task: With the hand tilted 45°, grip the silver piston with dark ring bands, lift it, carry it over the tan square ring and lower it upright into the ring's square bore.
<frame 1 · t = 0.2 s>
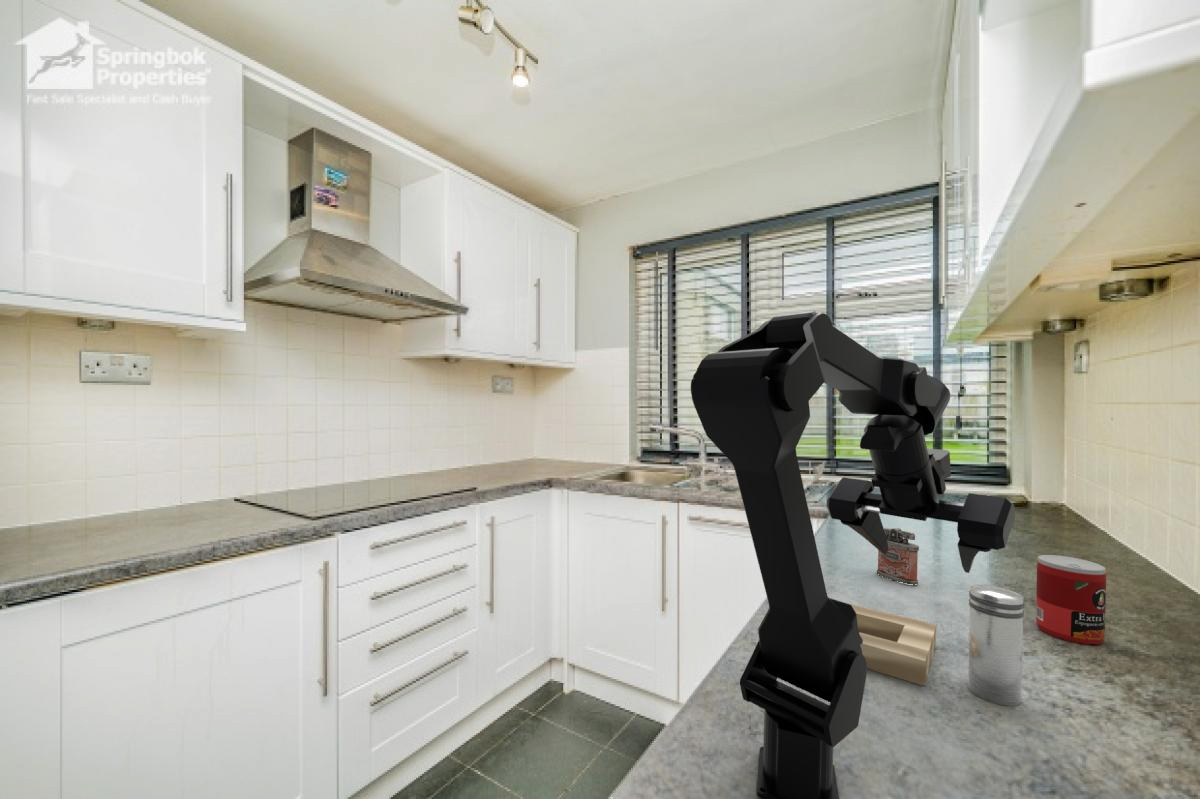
hand: (924, 560, 65), 15 cm above the counter, tool tilted 35°, fingers open, 9 cm apart
lighter: (896, 580, 103), on the counter
tan square ring: (871, 647, 72), on the counter
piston: (994, 693, 61), on the counter
canned food: (1069, 635, 79), on the counter
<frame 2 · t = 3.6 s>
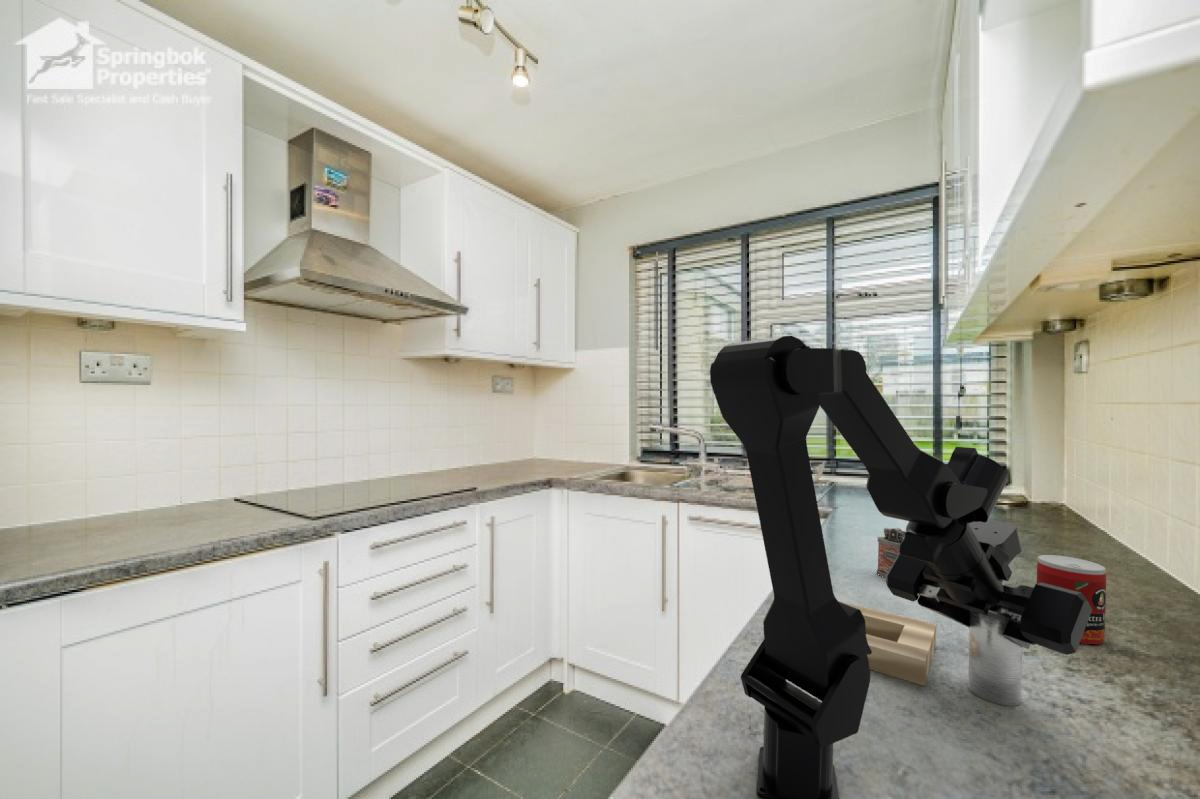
hand: (1001, 635, 62), 7 cm above the counter, tool tilted 45°, fingers closed on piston, 5 cm apart
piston: (994, 693, 61), on the counter, touching gripper
everything else where it was.
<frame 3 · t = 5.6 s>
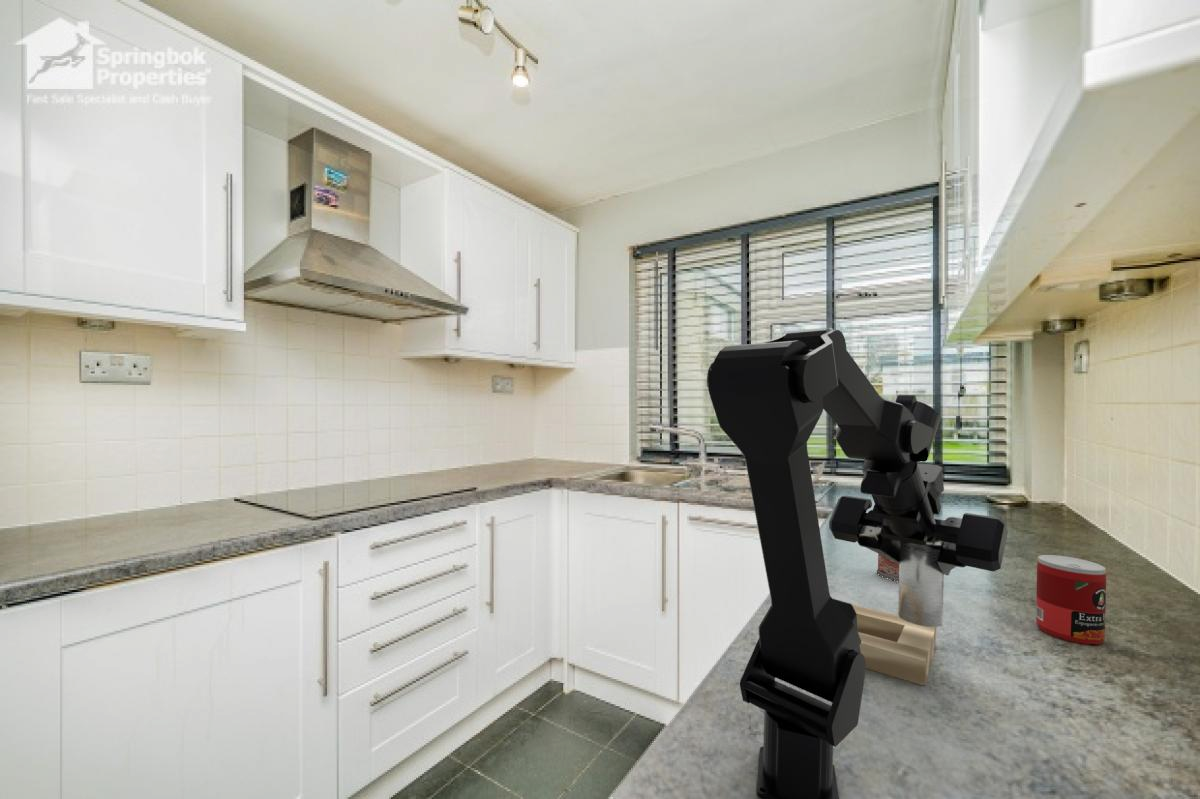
hand: (924, 567, 69), 12 cm above the counter, tool tilted 45°, fingers closed on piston, 5 cm apart
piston: (920, 619, 68), point 6 cm above the counter, touching gripper
everything else where it was.
when the fingers open (8 cm above the counter, at t = 7.6 s): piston drops 1 cm, resting in tan square ring.
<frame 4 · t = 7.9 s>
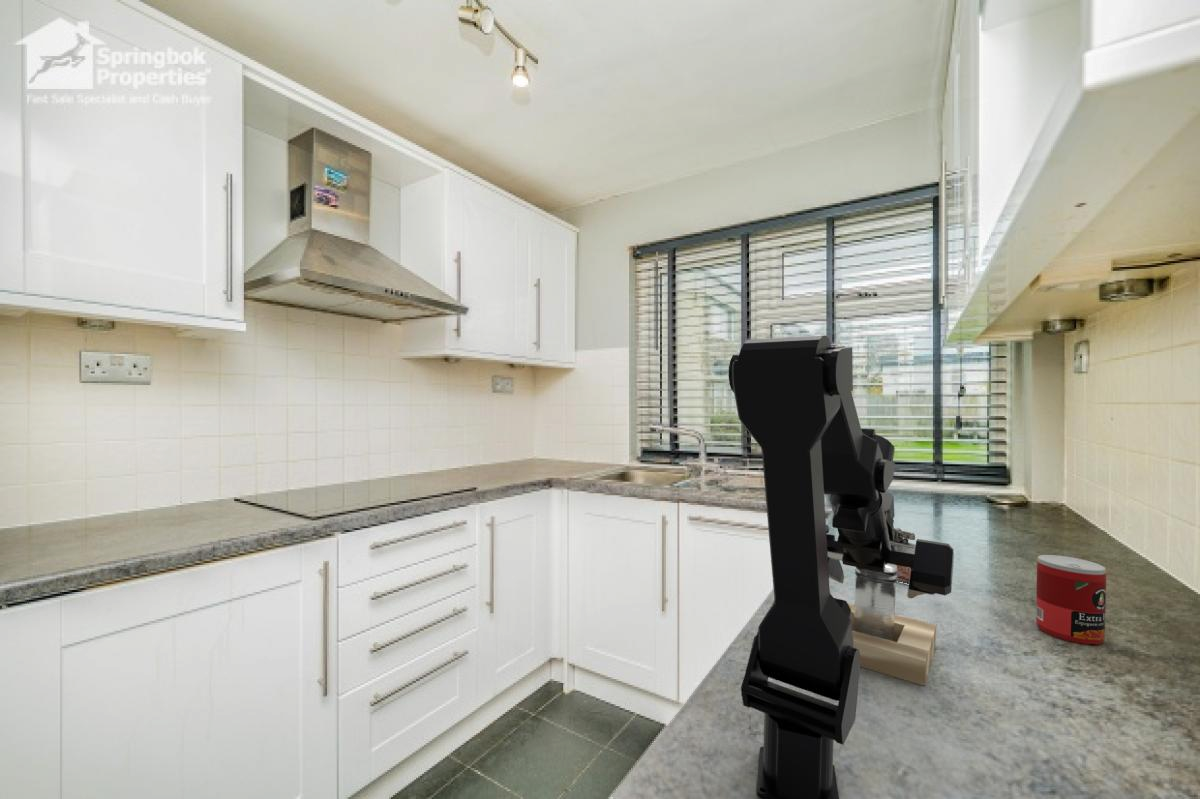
hand: (875, 587, 73), 8 cm above the counter, tool tilted 45°, fingers open, 8 cm apart
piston: (872, 647, 72), resting in tan square ring
everything else where it was.
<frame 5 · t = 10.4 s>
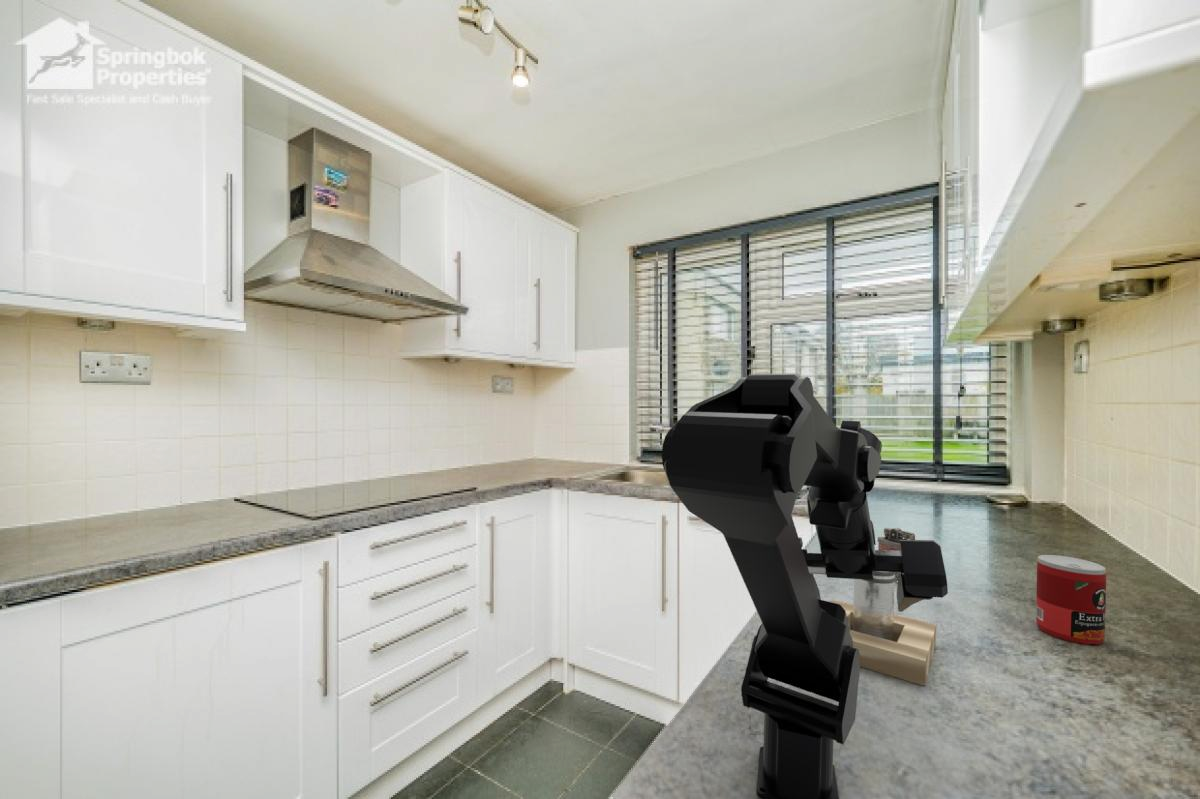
hand: (858, 605, 65), 8 cm above the counter, tool tilted 40°, fingers open, 9 cm apart
nothing on the counter moved.
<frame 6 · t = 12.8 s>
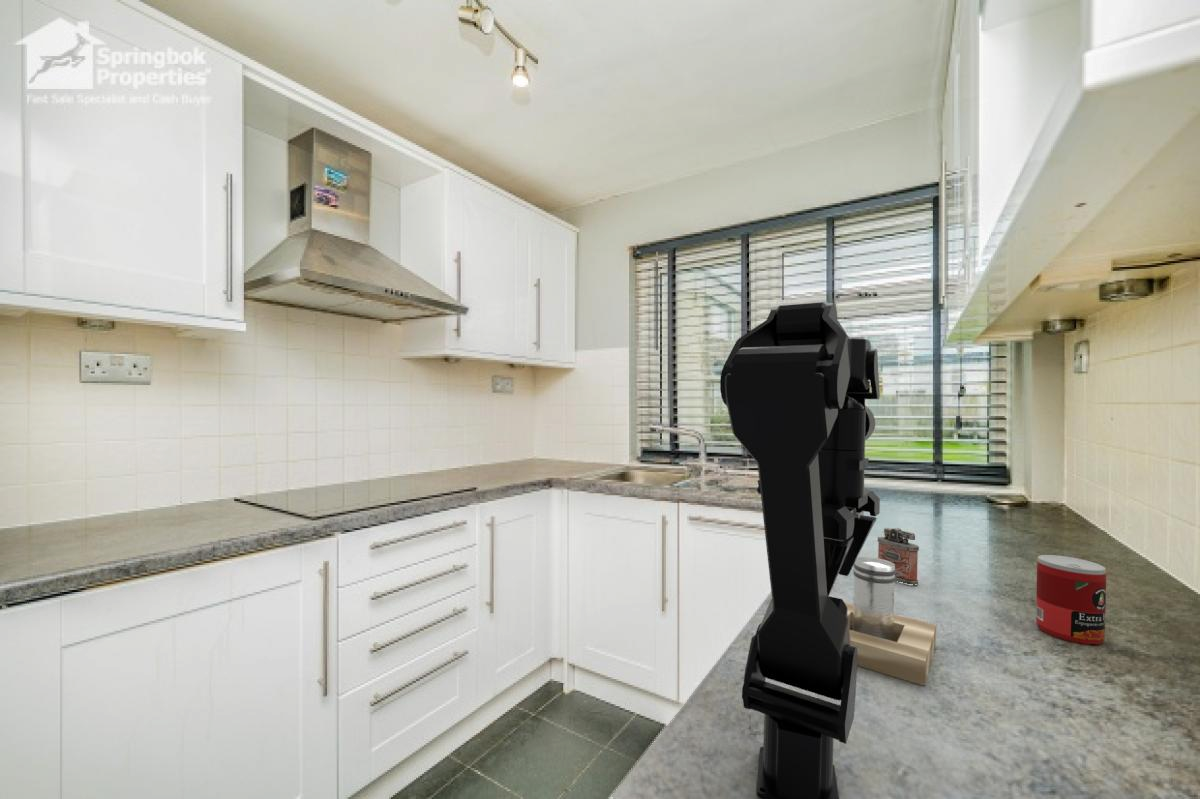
hand: (833, 584, 59), 13 cm above the counter, tool pointing down, fingers open, 9 cm apart
nothing on the counter moved.
at the end: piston 0.1 cm off-centre on the tan square ring, point 0.0 cm above the tan square ring's base; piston tilted 0°; the gripper is holding nothing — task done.
